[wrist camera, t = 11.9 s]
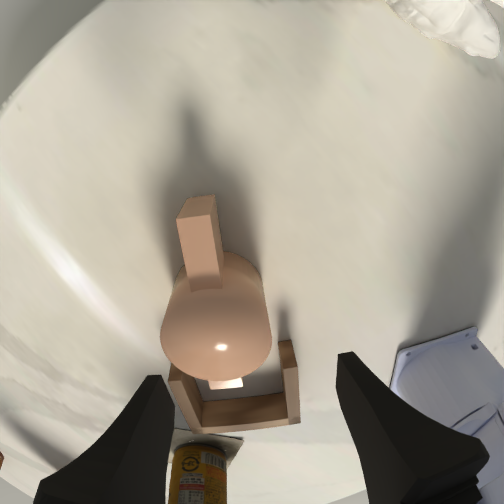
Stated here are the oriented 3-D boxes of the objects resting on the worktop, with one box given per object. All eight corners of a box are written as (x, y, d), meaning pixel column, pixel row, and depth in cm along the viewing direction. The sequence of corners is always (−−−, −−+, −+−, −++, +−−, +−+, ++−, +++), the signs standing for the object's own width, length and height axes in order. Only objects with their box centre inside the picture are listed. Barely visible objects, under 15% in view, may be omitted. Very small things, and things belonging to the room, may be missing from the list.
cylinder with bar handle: (267, 330, 23) (276, 384, 18) (187, 338, 23) (178, 392, 18) (252, 186, 19) (259, 212, 14) (154, 200, 19) (127, 230, 14)
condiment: (166, 461, 31) (157, 546, 20) (174, 426, 28) (163, 532, 17) (225, 470, 32) (227, 553, 21) (244, 438, 29) (250, 540, 18)
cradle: (291, 339, 23) (297, 366, 21) (295, 397, 26) (300, 422, 24) (173, 354, 23) (167, 381, 21) (195, 408, 26) (192, 434, 24)
